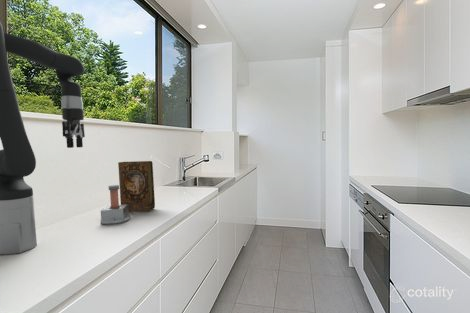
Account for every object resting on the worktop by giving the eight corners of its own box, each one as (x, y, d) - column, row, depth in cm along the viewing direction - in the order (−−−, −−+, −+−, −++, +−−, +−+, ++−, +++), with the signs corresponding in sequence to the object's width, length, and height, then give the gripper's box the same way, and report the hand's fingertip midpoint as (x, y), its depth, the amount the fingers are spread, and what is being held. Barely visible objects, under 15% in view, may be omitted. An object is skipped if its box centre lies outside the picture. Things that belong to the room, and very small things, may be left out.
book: (119, 212, 130) (116, 162, 129) (125, 209, 135) (122, 161, 134) (150, 211, 128) (148, 161, 127) (155, 208, 134) (152, 160, 133)
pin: (119, 216, 113) (117, 186, 113) (109, 217, 113) (107, 186, 112) (121, 214, 117) (120, 184, 117) (112, 215, 117) (110, 185, 116)
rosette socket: (126, 223, 110) (125, 209, 110) (96, 225, 108) (95, 211, 108) (133, 215, 122) (132, 203, 122) (105, 217, 120) (105, 205, 120)
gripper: (70, 110, 113) (73, 147, 114) (53, 105, 99) (56, 148, 100) (89, 110, 114) (91, 147, 115) (74, 105, 100) (77, 147, 101)
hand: (75, 147), depth 107 cm, fingers open, 8 cm apart
